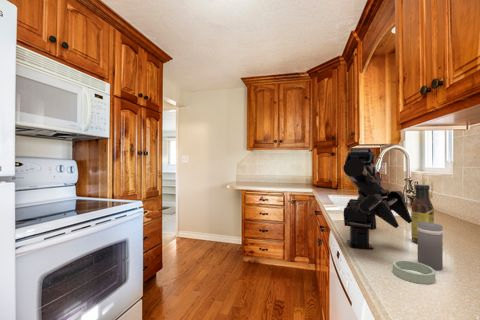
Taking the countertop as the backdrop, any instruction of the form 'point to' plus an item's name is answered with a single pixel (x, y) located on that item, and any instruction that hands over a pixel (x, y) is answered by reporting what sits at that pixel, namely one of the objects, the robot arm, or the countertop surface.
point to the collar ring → (414, 277)
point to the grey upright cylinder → (430, 245)
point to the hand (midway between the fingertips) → (404, 224)
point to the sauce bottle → (421, 209)
